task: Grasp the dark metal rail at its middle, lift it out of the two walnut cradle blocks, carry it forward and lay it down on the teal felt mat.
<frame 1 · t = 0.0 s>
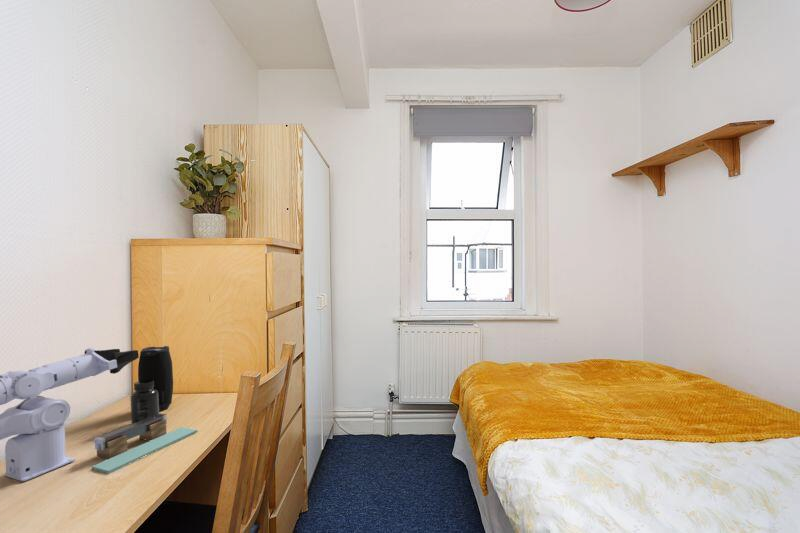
hand: (128, 353, 105), 22 cm above the table, tool horizontal, fingers open, 7 cm apart
cradle right: (153, 436, 101), on the table
cradle left: (112, 454, 92), on the table
mat: (149, 448, 95), on the table
supplement bottle: (145, 423, 112), on the table
portable speaker: (157, 409, 123), on the table
rail: (133, 435, 97), point 2 cm above the table, touching cradle left, cradle right
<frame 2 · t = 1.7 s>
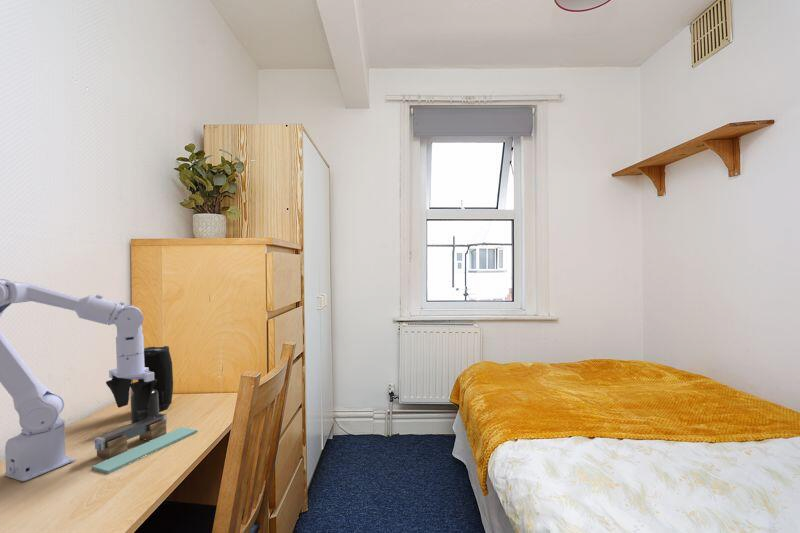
hand: (132, 407, 97), 10 cm above the table, tool pointing down, fingers open, 7 cm apart
nothing on the table moved.
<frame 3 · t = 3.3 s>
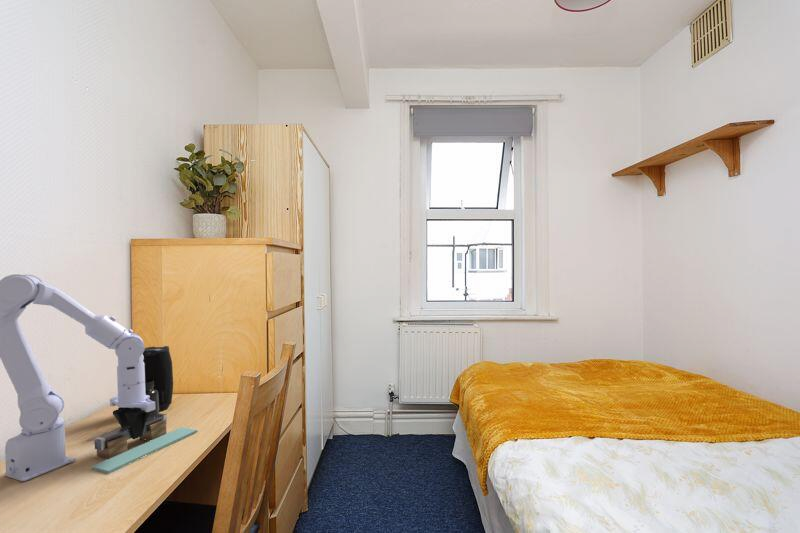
hand: (133, 436, 97), 2 cm above the table, tool pointing down, fingers closed on rail, 2 cm apart
rail: (133, 435, 97), point 2 cm above the table, touching cradle left, cradle right, gripper
everything else where it was.
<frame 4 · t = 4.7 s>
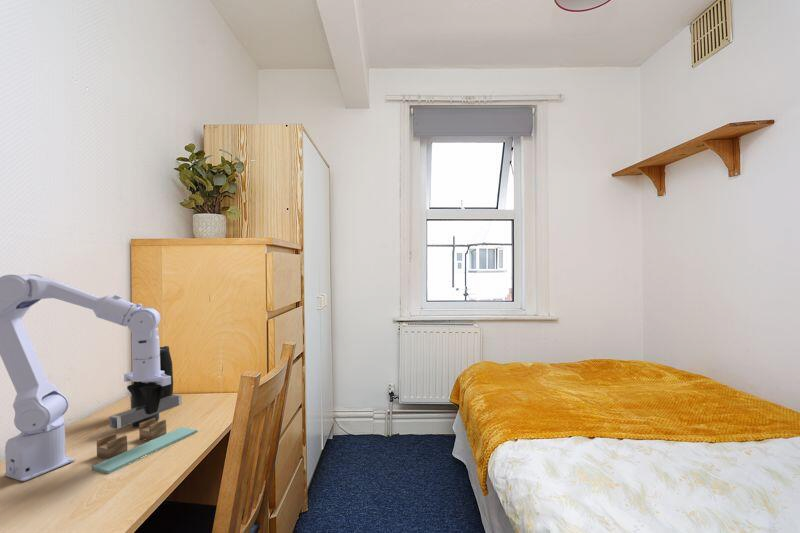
hand: (148, 412, 95), 9 cm above the table, tool pointing down, fingers closed on rail, 2 cm apart
rail: (148, 415, 95), point 8 cm above the table, touching gripper
everything else where it was.
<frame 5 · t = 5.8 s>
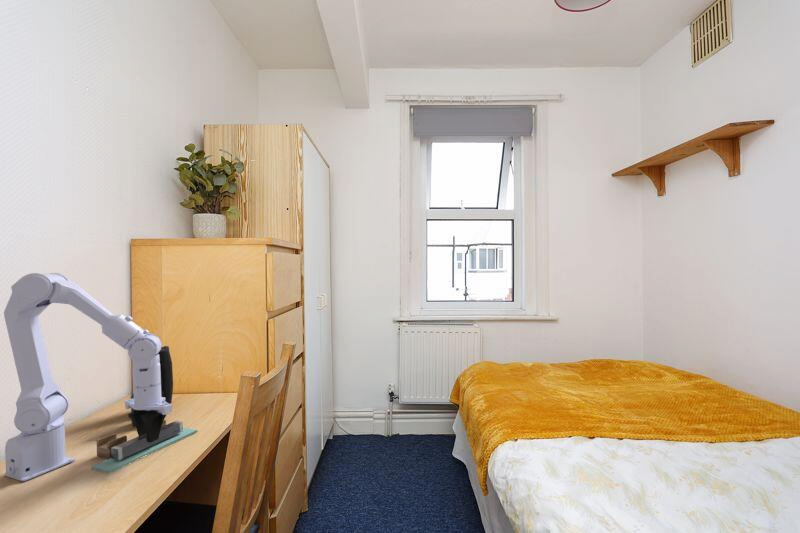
hand: (149, 439, 95), 2 cm above the table, tool pointing down, fingers closed on rail, 2 cm apart
rail: (149, 444, 95), point 1 cm above the table, touching gripper
everything else where it was.
when the fingers open (2 cm above the table, at t = 6.2 s): rail stays where it is, resting on mat.
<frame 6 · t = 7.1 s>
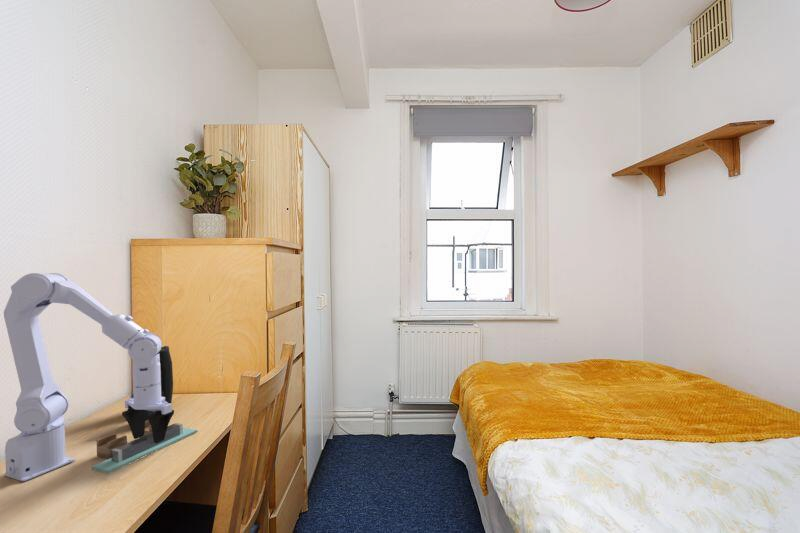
hand: (148, 439, 95), 2 cm above the table, tool pointing down, fingers open, 7 cm apart
rail: (149, 446, 95), point 1 cm above the table, touching mat
everything else where it was.
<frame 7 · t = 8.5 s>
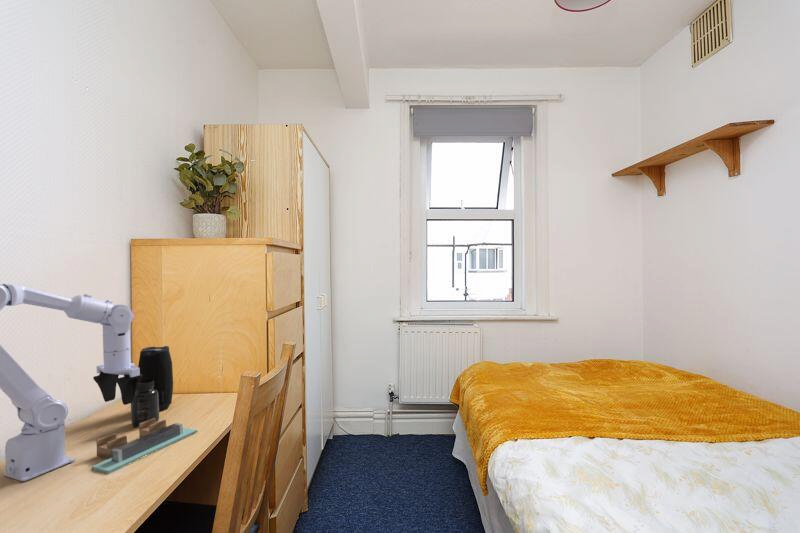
hand: (118, 402, 101), 10 cm above the table, tool pointing down, fingers open, 7 cm apart
nothing on the table moved.
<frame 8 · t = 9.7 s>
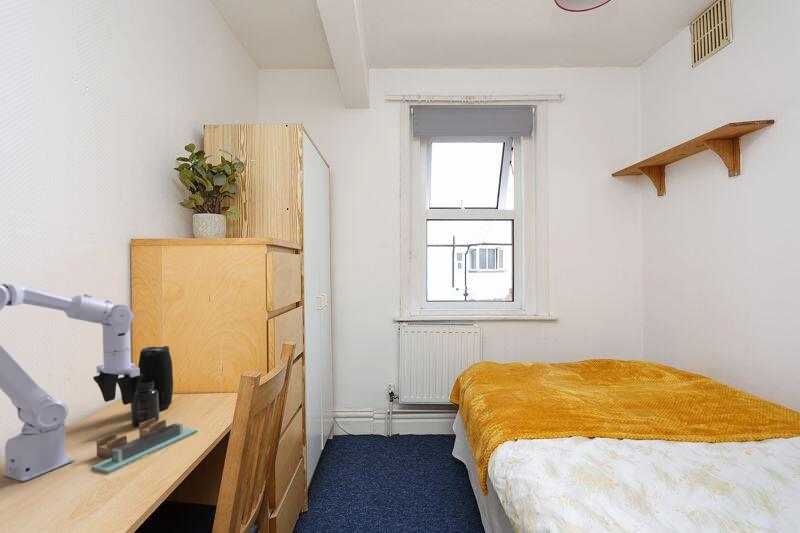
hand: (118, 402, 101), 10 cm above the table, tool pointing down, fingers open, 7 cm apart
nothing on the table moved.
at the end: rail inside the target area on the mat (0.1 cm from its centre), point 0.6 cm above the mat's base; rail point 0.6 cm above the table; the gripper is holding nothing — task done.
